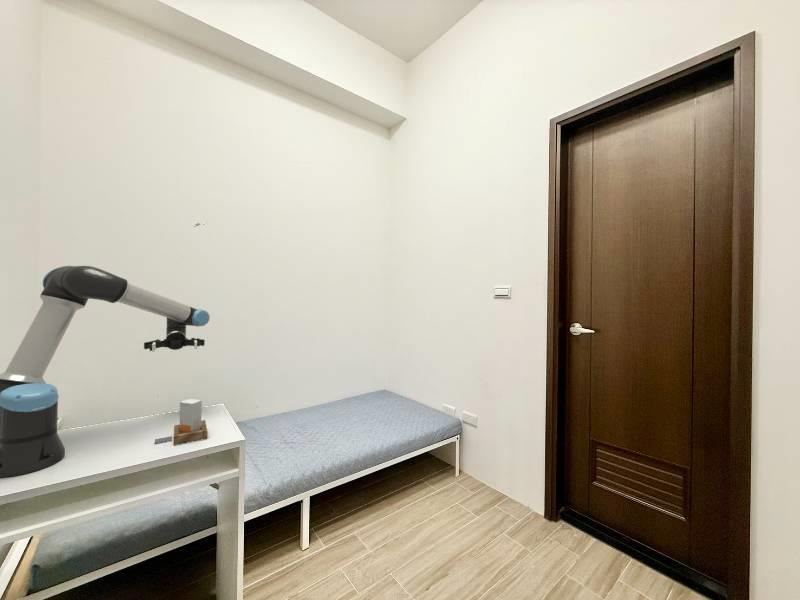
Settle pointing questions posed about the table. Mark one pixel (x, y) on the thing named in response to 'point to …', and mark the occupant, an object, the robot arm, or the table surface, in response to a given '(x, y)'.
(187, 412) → the skincare box
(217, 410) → the table surface
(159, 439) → the flat gray slab
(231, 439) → the table surface
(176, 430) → the socket block
